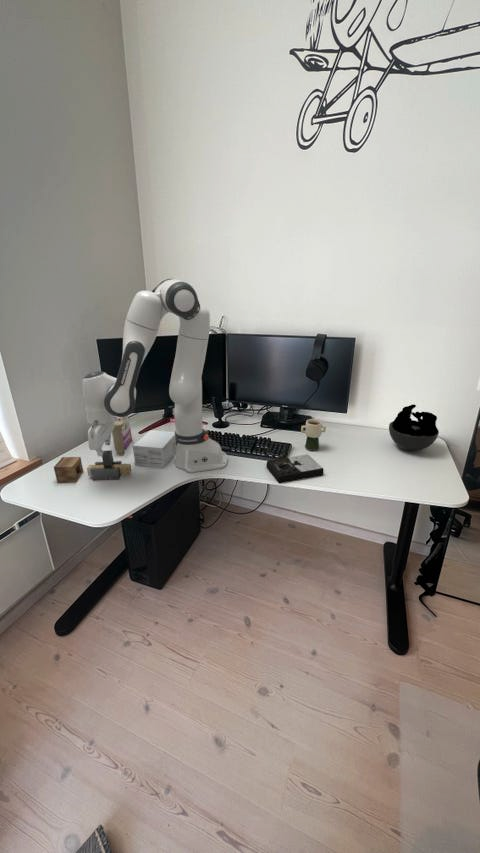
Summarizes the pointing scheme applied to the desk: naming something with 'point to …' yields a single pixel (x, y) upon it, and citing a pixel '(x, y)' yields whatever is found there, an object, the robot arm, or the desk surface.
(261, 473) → the desk surface
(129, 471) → the tan bar
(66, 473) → the socket block
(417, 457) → the desk surface
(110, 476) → the sleeve channel
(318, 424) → the character mug
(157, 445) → the supplement box
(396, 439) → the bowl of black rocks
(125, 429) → the candy bar box
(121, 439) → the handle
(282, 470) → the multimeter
